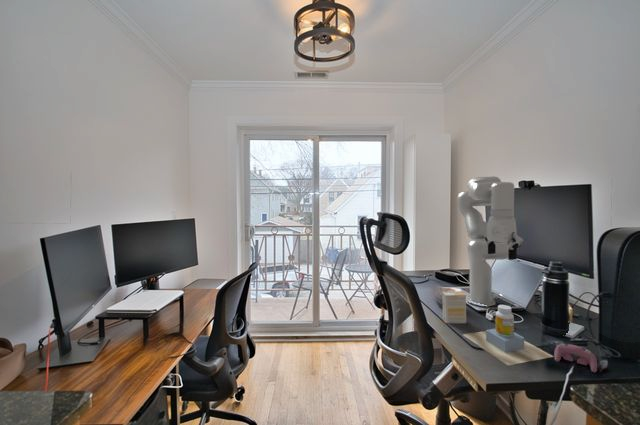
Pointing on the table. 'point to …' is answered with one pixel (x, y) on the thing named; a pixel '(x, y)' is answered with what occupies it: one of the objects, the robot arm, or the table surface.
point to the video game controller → (584, 355)
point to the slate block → (505, 341)
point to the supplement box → (454, 307)
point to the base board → (508, 357)
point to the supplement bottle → (504, 321)
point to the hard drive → (574, 330)
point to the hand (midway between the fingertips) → (501, 256)
